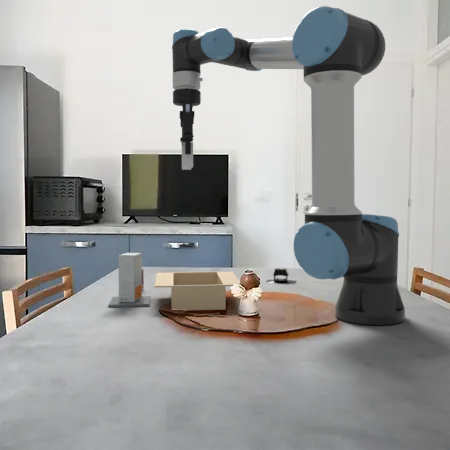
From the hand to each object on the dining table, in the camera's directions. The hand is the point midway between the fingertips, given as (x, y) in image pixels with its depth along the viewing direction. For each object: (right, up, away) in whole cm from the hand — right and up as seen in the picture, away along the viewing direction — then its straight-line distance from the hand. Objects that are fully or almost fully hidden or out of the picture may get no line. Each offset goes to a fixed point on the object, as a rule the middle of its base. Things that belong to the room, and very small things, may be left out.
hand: (187, 168), depth 145 cm
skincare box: (-14, -35, -9) cm, 39 cm away
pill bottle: (-16, -35, +9) cm, 39 cm away
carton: (+3, -35, -8) cm, 36 cm away
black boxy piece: (+28, -34, +22) cm, 50 cm away
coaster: (-14, -35, -9) cm, 39 cm away
